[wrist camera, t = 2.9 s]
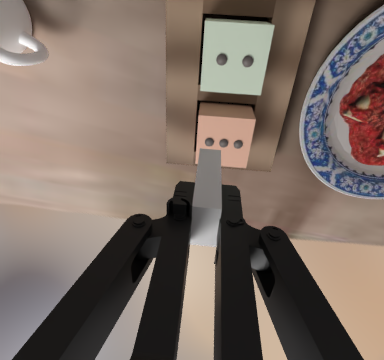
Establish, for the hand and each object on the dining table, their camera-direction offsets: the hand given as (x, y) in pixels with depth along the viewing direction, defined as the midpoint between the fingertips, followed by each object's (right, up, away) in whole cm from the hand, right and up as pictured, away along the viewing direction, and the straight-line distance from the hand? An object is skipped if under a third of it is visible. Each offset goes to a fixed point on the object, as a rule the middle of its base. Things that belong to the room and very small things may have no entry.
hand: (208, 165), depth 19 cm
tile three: (+3, +6, +14) cm, 15 cm away
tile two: (+3, +13, +9) cm, 16 cm away
